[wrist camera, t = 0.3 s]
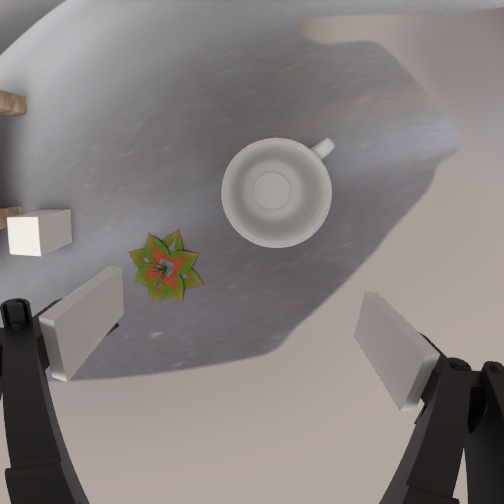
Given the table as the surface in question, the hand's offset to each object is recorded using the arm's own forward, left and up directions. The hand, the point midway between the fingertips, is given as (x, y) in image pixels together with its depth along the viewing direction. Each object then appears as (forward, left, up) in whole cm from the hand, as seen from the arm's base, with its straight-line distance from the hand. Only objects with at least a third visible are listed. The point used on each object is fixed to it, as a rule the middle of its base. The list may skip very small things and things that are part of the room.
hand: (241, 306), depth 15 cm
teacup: (-6, +4, -28) cm, 29 cm away
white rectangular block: (+1, -32, -28) cm, 42 cm away
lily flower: (+7, -12, -29) cm, 32 cm away
